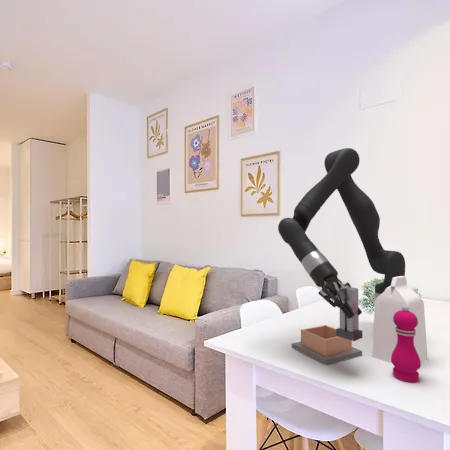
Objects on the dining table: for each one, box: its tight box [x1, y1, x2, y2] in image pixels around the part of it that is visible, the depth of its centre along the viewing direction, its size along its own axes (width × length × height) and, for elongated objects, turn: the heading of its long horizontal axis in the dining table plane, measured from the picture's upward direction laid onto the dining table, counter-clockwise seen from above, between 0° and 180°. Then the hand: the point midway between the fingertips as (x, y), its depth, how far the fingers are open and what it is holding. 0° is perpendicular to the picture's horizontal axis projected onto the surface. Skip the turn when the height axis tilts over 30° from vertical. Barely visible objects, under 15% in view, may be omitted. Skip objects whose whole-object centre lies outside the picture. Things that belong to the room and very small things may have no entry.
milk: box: [372, 275, 429, 364], centre depth 102 cm, size 12×12×26 cm
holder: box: [291, 324, 363, 366], centre depth 107 cm, size 16×16×6 cm
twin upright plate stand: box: [335, 286, 364, 342], centre depth 91 cm, size 4×6×14 cm
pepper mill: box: [391, 305, 422, 383], centre depth 89 cm, size 7×7×20 cm
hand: (355, 315), depth 90 cm, fingers closed on twin upright plate stand, 3 cm apart
